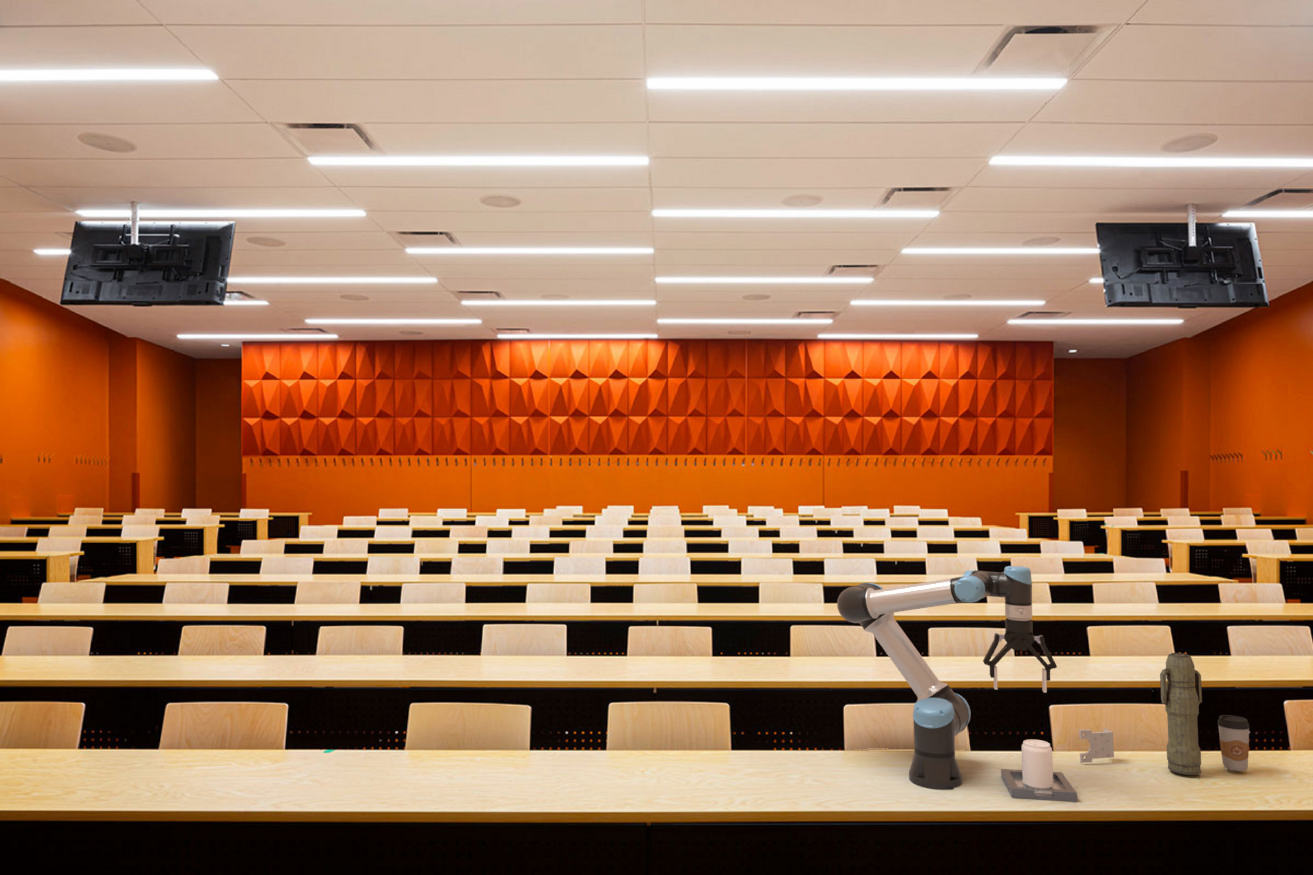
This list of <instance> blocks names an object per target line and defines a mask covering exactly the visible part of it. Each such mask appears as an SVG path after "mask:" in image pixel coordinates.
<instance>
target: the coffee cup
mask: <svg viewBox="0 0 1313 875" xmlns="http://www.w3.org/2000/svg"><path fill="white" fill-rule="evenodd" d="M1217 726H1218V733H1219V745H1220V753H1221V758H1222V761H1221V762H1222V765H1223V767H1224V768H1225V769H1227V770H1230V771H1238V772H1244V771H1245V772H1246V771H1247V769H1248V767H1249V756H1250V755H1249V750H1250V747H1249V746H1250V742H1249V740H1250V723H1249V722H1248V719H1247V718H1246V717H1243V716H1239V715H1231V714H1229V715H1228V714H1223V715H1219V716H1218V719H1217Z"/></svg>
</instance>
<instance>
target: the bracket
mask: <svg viewBox="0 0 1313 875" xmlns="http://www.w3.org/2000/svg"><path fill="white" fill-rule="evenodd" d="M1078 739H1080V740H1087V741H1088V743H1089V749H1088V750H1087V751H1086V752H1079V762H1080V763H1093V760H1094V759H1095V760H1096V759H1108V758H1109V759H1111V758H1114V757H1115V756H1114V755H1115V752H1114V748H1115V747H1114V732H1113V731H1112V730H1109V729H1107V728H1104V727H1103V731H1095V732H1094V731H1093V732H1092V729H1090V728H1089V729H1088V728H1086V729H1078Z"/></svg>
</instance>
